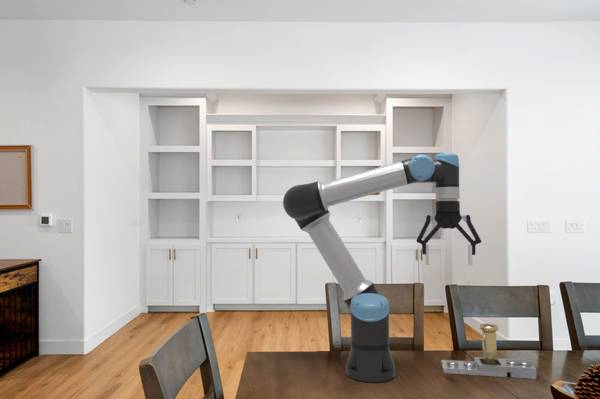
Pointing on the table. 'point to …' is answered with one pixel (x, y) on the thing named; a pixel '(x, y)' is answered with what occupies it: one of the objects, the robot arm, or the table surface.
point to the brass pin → (489, 343)
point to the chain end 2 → (509, 367)
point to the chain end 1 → (467, 368)
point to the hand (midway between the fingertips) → (448, 264)
